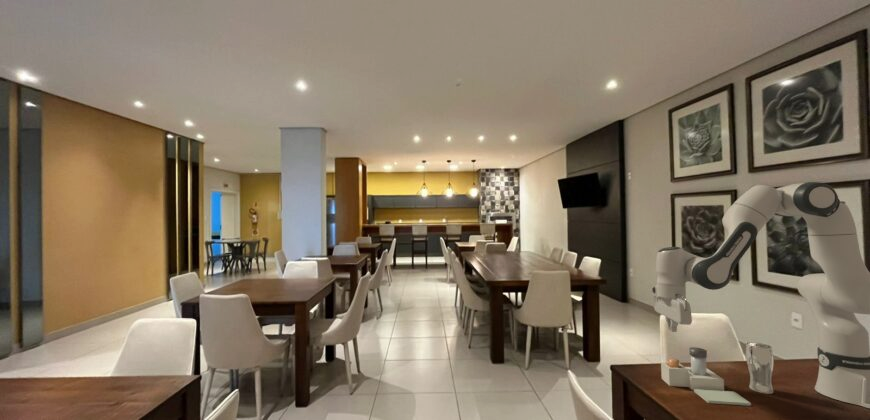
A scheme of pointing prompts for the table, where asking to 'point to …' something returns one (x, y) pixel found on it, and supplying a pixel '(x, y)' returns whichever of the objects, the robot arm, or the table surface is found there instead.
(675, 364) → the release button
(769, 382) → the beer glass
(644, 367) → the table surface
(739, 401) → the mat
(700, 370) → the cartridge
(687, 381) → the housing
